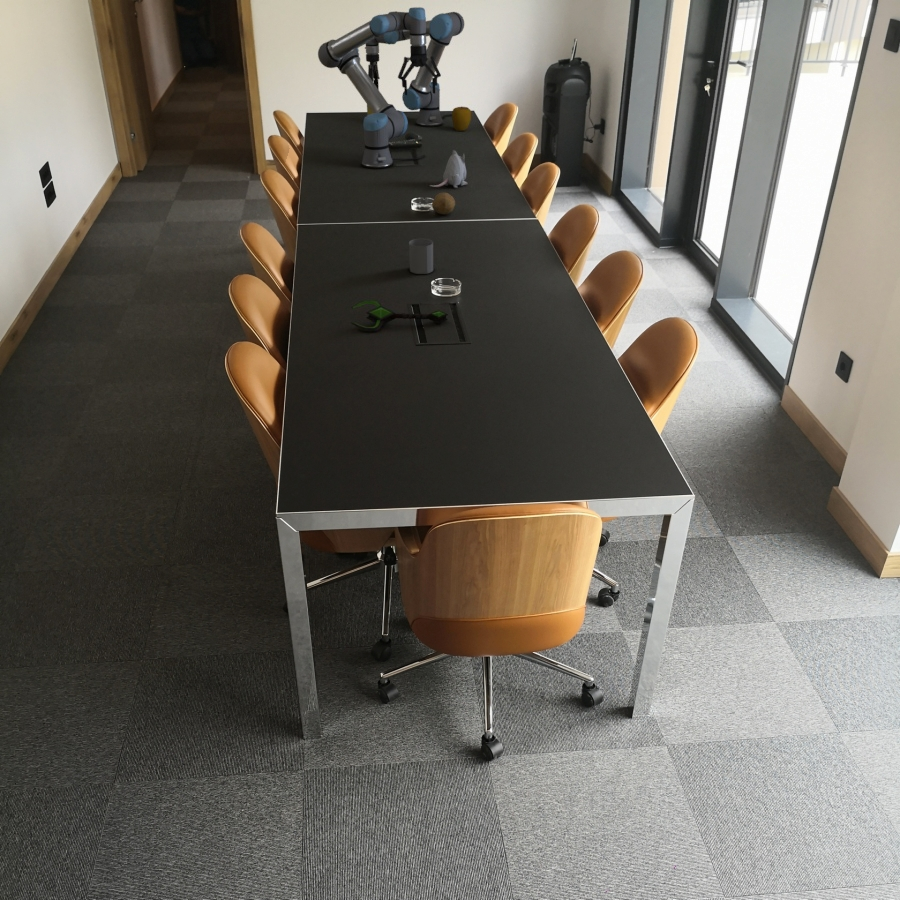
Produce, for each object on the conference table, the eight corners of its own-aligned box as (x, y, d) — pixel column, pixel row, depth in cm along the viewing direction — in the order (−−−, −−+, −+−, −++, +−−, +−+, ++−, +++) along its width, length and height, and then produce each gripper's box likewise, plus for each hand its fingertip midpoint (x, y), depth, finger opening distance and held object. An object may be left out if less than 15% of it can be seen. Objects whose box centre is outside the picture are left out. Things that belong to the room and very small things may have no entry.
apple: (471, 132, 486) (471, 108, 479) (451, 132, 486) (451, 108, 479) (470, 128, 495) (471, 104, 488) (452, 128, 495) (452, 104, 488)
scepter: (447, 295, 270) (351, 293, 268) (448, 326, 263) (349, 324, 261) (446, 308, 275) (351, 306, 273) (447, 339, 268) (350, 337, 266)
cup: (409, 265, 311) (408, 238, 306) (432, 265, 312) (431, 238, 307) (410, 274, 304) (409, 246, 299) (433, 273, 305) (433, 246, 299)
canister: (368, 124, 504) (367, 102, 497) (366, 121, 511) (365, 99, 505) (384, 123, 505) (383, 101, 499) (382, 120, 513) (381, 98, 506)
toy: (472, 184, 399) (472, 151, 391) (436, 195, 384) (436, 161, 376) (457, 180, 404) (458, 147, 396) (422, 191, 389) (421, 157, 381)
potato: (453, 208, 369) (453, 189, 365) (456, 218, 357) (456, 199, 353) (431, 208, 368) (430, 189, 364) (432, 218, 356) (432, 199, 352)
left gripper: (442, 42, 406) (443, 91, 418) (390, 45, 402) (392, 94, 413) (446, 44, 400) (447, 93, 411) (393, 47, 396) (395, 96, 407)
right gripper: (370, 50, 499) (371, 89, 511) (361, 57, 478) (363, 97, 490) (383, 50, 498) (384, 89, 510) (374, 57, 478) (376, 98, 489)
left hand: (420, 94), depth 412 cm, fingers open, 13 cm apart
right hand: (373, 93), depth 500 cm, fingers open, 13 cm apart
